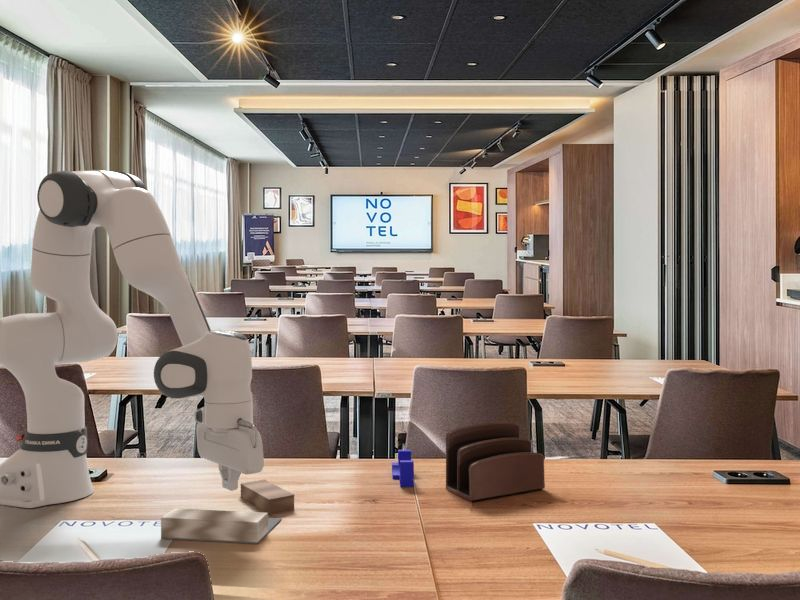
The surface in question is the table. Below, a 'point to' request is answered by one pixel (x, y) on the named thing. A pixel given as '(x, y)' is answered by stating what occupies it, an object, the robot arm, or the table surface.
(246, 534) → the beige wooden block
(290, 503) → the walnut plank
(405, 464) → the cable clip
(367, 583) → the table surface
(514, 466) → the letter holder
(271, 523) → the underlay mat
